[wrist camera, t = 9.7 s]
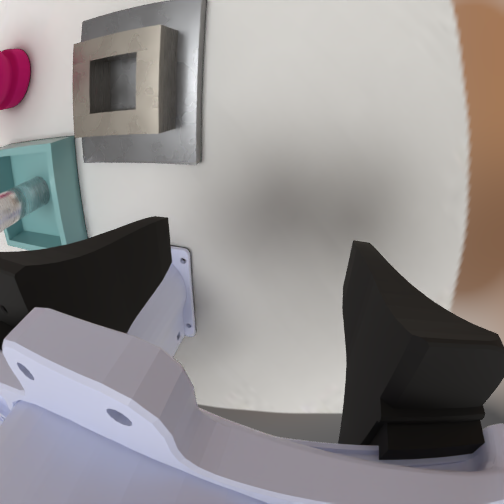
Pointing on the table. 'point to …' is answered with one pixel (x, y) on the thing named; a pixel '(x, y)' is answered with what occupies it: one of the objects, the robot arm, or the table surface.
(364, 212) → the table surface
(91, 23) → the hitch plate
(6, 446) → the robot arm
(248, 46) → the table surface
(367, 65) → the table surface
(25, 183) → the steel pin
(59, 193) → the tray
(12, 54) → the pepper mill
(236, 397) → the table surface
